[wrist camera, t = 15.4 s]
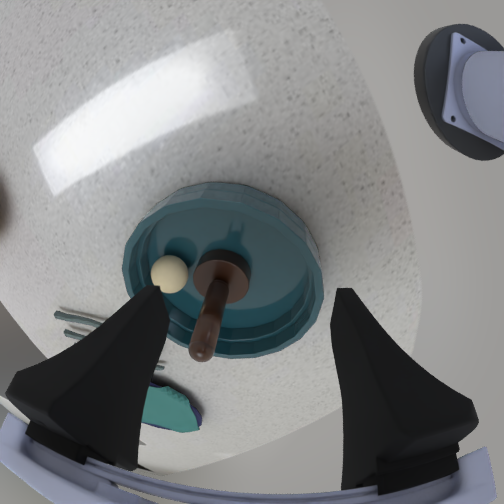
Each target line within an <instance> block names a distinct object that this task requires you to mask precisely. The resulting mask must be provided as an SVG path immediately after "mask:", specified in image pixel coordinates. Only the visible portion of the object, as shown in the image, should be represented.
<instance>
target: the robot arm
mask: <svg viewBox="0 0 504 504" xmlns="http://www.w3.org/2000/svg"><path fill="white" fill-rule="evenodd" d="M460 39H462V41H463V43H462V42H461V40H460ZM451 116H453V121H451ZM441 117H442V119H443V121H445V122H446V123H449V124H451V125H454V126H456V127H458V128H460V129H463V130H465V131H467V132H469V133H471V134H473V135H475V136H477V137H479V138H481V139H483V140H485V141H487V142H489V143H491V144H493V145H495V146H497V147H499V148H500V149H502V150H504V51H487V50H486V49H484V48H482V47H481V46H479V45H478V44H476V43H474V42H473V41H471V40H469V39H468V38H466V37H464V36H462V35H461V34H459V33H452V34H451V43H450V56H449V66H448V75H447V83H446V90H445V97H444V103H443V108H442V114H441ZM169 324H170V318H169V315H168V312H167V308H166V305H165V302H164V299H163V295H162V292H161V289H160V286H158V285H146V286H145V287H144V288H143V289H141V290H140V291H139V292H138V293H137V294H136V295H135V296H133V297H132V298H131V299H130V300H129V301H128V302H127V303H126V304H125V305H123V306H122V307H121V308H120V309H119V310H118V311H117V312H116V313H114V314H113V315H112V316H111V317H110V318H109V319H107V320H106V321H105V322H104V323H103V324H101V325H100V326H99V327H98V328H97V329H95V330H94V331H93V332H91V333H90V334H89V335H87V336H86V337H84V338H83V339H82V340H80V341H79V342H77V343H76V344H74V345H72V346H71V347H69V348H67V349H66V350H64V351H62V352H61V353H59V354H57V355H55V356H53V357H51V358H49V359H47V360H45V361H43V362H41V363H39V364H36V365H34V366H31V367H29V368H26V369H23V370H21V371H18V372H17V373H16V374H15V376H14V378H13V380H12V382H11V383H10V386H9V387H8V389H7V391H6V393H5V394H6V396H7V398H8V399H9V401H10V402H11V403H12V404H13V405H14V406H15V407H16V408H17V409H18V410H20V411H21V412H22V413H23V414H24V415H25V416H26V417H27V418H29V419H30V420H31V421H30V423H29V425H28V424H27V423H25V422H24V421H22V420H21V419H19V418H17V417H16V416H14V415H12V414H11V413H8V414H7V416H6V418H5V420H4V422H3V425H2V427H1V429H0V462H2V463H3V464H4V465H5V466H6V467H8V468H9V469H10V470H11V471H12V472H14V473H15V474H16V475H17V476H19V477H20V478H21V479H22V480H23V481H25V482H26V483H27V484H28V485H30V486H31V487H32V488H33V489H35V490H36V491H37V492H39V493H40V494H41V495H43V496H44V497H46V498H47V499H48V500H50V501H51V502H53V503H54V504H158V503H156V502H152V501H149V500H147V499H144V498H142V497H140V496H138V495H135V494H132V493H129V492H127V491H124V490H121V489H119V488H118V486H117V485H116V484H118V485H121V486H124V487H127V488H130V489H133V490H136V491H139V492H143V493H146V494H150V495H153V496H158V497H161V498H165V499H170V500H174V501H179V502H183V503H189V504H488V503H490V502H492V501H493V500H495V499H496V498H497V495H496V488H495V482H494V477H493V472H492V467H491V463H490V458H489V454H488V450H487V447H483V448H480V449H478V450H476V451H474V452H471V453H469V454H466V455H464V456H462V457H460V458H458V459H457V456H456V453H457V452H459V445H458V442H459V441H461V440H462V439H463V438H464V437H466V436H467V435H468V434H469V433H471V432H472V431H473V430H474V429H475V428H476V427H477V425H478V423H479V420H478V417H477V413H476V410H475V407H474V405H473V402H472V400H471V399H469V398H467V397H465V396H464V395H462V394H460V393H458V392H456V391H455V390H453V389H451V388H450V387H448V386H447V385H445V384H444V383H442V382H441V381H439V380H438V379H436V378H435V377H434V376H433V375H431V374H430V373H429V372H427V371H426V370H425V369H424V368H422V367H421V366H420V365H419V364H418V363H416V362H415V361H414V360H413V359H412V358H411V357H410V356H409V355H408V354H407V353H406V352H404V351H403V350H402V349H401V348H400V347H399V346H398V345H397V344H396V342H395V341H394V340H393V339H392V338H391V337H390V336H389V335H388V334H387V332H386V331H385V330H384V329H383V328H382V326H381V325H380V324H379V323H378V322H377V320H376V319H375V318H374V317H373V315H372V314H371V313H370V311H369V310H368V309H367V307H366V306H365V305H364V304H363V302H362V301H361V299H360V298H359V297H358V295H357V294H356V293H355V291H354V290H353V289H352V288H337V291H336V296H335V302H334V307H333V312H332V317H331V322H330V329H331V341H332V349H333V354H334V359H335V364H336V369H337V374H338V379H339V385H340V390H341V397H342V409H343V434H344V437H343V438H344V439H343V471H342V483H341V491H333V492H324V493H309V494H252V493H238V492H227V491H218V490H210V489H204V488H197V487H191V486H186V485H181V484H176V483H171V482H167V481H162V480H158V479H154V478H150V477H147V476H143V475H139V474H136V473H133V472H129V471H133V470H135V469H136V468H137V465H138V446H139V437H140V429H141V422H142V416H143V410H144V405H145V401H146V396H147V392H148V388H149V385H150V382H151V379H152V376H153V373H154V371H155V368H156V365H157V363H158V360H159V357H160V355H161V352H162V349H163V347H164V344H165V341H166V337H167V333H168V328H169ZM108 464H109V465H108ZM111 465H112V466H111ZM114 466H115V467H114ZM117 467H118V468H117ZM120 468H122V469H120ZM123 469H125V470H123ZM126 470H128V471H126Z"/></svg>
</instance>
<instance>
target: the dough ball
mask: <svg viewBox="0 0 504 504" xmlns="http://www.w3.org/2000/svg"><path fill="white" fill-rule="evenodd" d="M151 279H152V282H153V284H154V285H158V286H160V289H161V291H162V292H165V293H175V292H178V291H180V290H181V289H182V288H183V287H184V286H185V284H186V283H187V280H188V269H187V266H186V264H185V263H184V262H183V261H182V260H181V259H180V258H178V257H176V256H173V255H166V256H163V257H160V258H159V259H158V260H157V261H156V262H155V263H154V264H153V266H152V269H151Z"/></svg>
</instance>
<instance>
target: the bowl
mask: <svg viewBox="0 0 504 504" xmlns="http://www.w3.org/2000/svg"><path fill="white" fill-rule="evenodd" d="M217 249H224V250H229V251H232V252H235V253H237V254H238V255H240V256H241V257H242V258H243V259H244V260H245V261H246V262H247V264H248V265H249V267H250V271H251V278H250V284H249V289H248V292H247V294H246V295H245V296H244V297H243V298H242V299H241V300H239V301H237V302H235V303H231V304H226V306H225V311H224V315H223V319H222V323H221V327H220V331H219V335H218V339H217V344H216V348H215V352H214V355H213V356H215V357H222V358H228V359H241V358H256V357H260V356H264V355H268V354H271V353H275V352H279V351H281V350H282V349H284V348H286V347H288V346H289V345H291V344H293V343H294V342H296V341H298V340H300V339H301V338H302V337H303V336H304V334H305V333H306V332H307V331H308V330H309V329H310V328H311V327H312V325H313V324H314V323H315V322H316V320H317V317H318V314H319V311H320V309H321V306H322V303H323V300H324V291H323V280H322V270H321V264H320V258H319V252H318V248H317V246H316V244H315V242H314V240H313V238H312V236H311V234H310V232H309V231H308V229H307V227H306V225H305V223H304V222H303V221H302V220H301V219H300V218H299V217H298V216H297V215H296V214H295V213H293V212H292V211H291V210H290V209H289V208H288V207H287V206H286V205H285V204H283V203H282V202H281V201H280V200H279V199H276V198H274V197H272V196H270V195H267V194H265V193H263V192H261V191H258V190H256V189H254V188H251V187H249V186H246V185H238V184H229V183H219V182H208V183H203V184H199V185H194V186H190V187H186V188H182V189H180V190H177V191H176V192H174V193H173V194H171V195H170V196H168V197H167V198H165V199H164V200H162V201H161V202H159V203H158V204H156V205H155V206H154V207H153V208H152V210H151V211H150V212H149V213H148V214H147V215H146V216H145V217H144V218H143V219H142V220H141V222H140V223H139V224H138V226H137V227H136V229H135V230H134V232H133V233H132V235H131V237H130V238H129V240H128V241H127V243H126V245H125V251H124V258H123V265H122V272H123V276H124V281H125V285H126V289H127V292H128V295H129V296H130V298H132V297H133V296H135V295H136V294H137V293H138V292H139V291H140V290H141V289H143V288H144V287H145V286H146V285H154V284H153V282H152V279H151V269H152V266H153V264H154V263H155V262H156V261H157V260H158V259H159V258H160V257H163V256H166V255H173V256H176V257H178V258H180V259H181V260H182V261H183V262H184V263H185V264H186V266H187V269H188V280H187V283H186V284H185V286H184V287H183V288H182V289H181V290H180V291H178V292H175V293H165V292H162V291H161V292H162V295H163V299H164V302H165V305H166V308H167V312H168V315H169V318H170V324H169V328H168V333H167V338H169V339H170V340H172V341H173V342H175V343H177V344H178V345H180V346H183V347H185V348H189V344H190V341H191V337H192V334H193V331H194V328H195V325H196V322H197V319H198V316H199V313H200V310H201V307H202V304H203V301H204V297H203V296H202V295H201V294H200V293H199V292H198V291H197V289H196V288H195V285H194V282H193V274H194V271H195V269H196V266H197V264H198V262H199V260H200V258H201V257H202V256H203V255H204V254H206V253H207V252H209V251H212V250H217Z"/></svg>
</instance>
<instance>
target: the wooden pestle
mask: <svg viewBox="0 0 504 504" xmlns="http://www.w3.org/2000/svg"><path fill="white" fill-rule="evenodd" d="M250 278H251V271H250V267H249V265H248V264H247V262H246V261H245V260H244V259H243V258H242V257H241V256H240V255H238V254H237V253H235V252H232V251H229V250H224V249H217V250H212V251H209V252H207V253H206V254H204V255H203V256H202V257H201V258H200V260H199V262H198V264H197V266H196V269H195V271H194V274H193V282H194V285H195V288H196V289H197V291H198V292H199V293H200V294H201V295H202V296H203V297H204V301H203V304H202V307H201V310H200V313H199V316H198V319H197V322H196V325H195V328H194V331H193V334H192V337H191V341H190V344H189V348H188V349H189V354H190V356H191V357H192V358H193V359H194V360H195V361H198V362H206V361H208V360H210V359H211V358H212V357H213V355H214V352H215V348H216V344H217V339H218V335H219V331H220V327H221V323H222V319H223V315H224V311H225V306H226V304H231V303H235V302H237V301H239V300H241V299H242V298H243V297H244V296H245V295H246V294H247V292H248V289H249V284H250Z"/></svg>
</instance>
